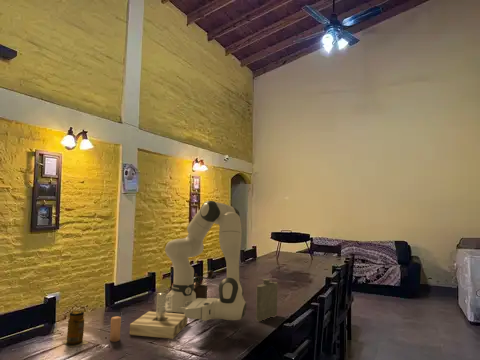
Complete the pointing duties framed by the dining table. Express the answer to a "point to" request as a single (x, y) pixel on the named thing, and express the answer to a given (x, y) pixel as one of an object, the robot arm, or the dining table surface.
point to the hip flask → (266, 300)
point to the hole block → (158, 325)
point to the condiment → (75, 329)
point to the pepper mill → (201, 286)
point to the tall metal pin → (160, 306)
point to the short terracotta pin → (115, 329)
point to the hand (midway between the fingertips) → (181, 306)
